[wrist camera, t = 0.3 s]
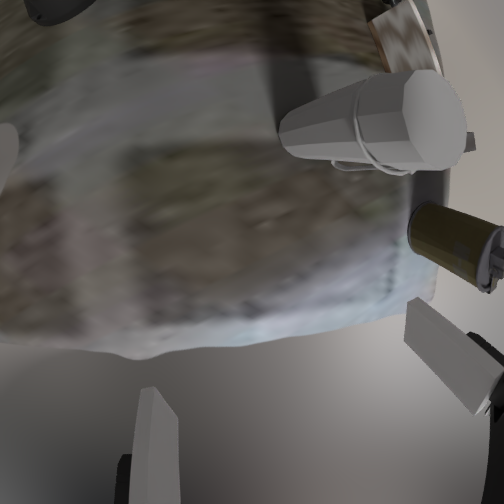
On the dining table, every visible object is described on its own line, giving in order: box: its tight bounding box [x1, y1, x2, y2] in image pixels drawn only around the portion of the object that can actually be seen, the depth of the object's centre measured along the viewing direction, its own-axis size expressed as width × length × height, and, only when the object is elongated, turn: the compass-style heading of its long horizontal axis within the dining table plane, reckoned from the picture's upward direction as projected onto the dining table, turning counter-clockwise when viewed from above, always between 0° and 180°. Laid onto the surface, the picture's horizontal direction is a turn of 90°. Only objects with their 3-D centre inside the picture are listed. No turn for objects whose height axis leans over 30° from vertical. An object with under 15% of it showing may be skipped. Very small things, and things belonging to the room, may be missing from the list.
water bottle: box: [278, 70, 467, 176], centre depth 24 cm, size 9×8×25 cm
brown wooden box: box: [367, 0, 476, 153], centre depth 29 cm, size 24×10×12 cm, turn 16°
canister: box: [408, 201, 504, 294], centre depth 35 cm, size 11×10×20 cm
